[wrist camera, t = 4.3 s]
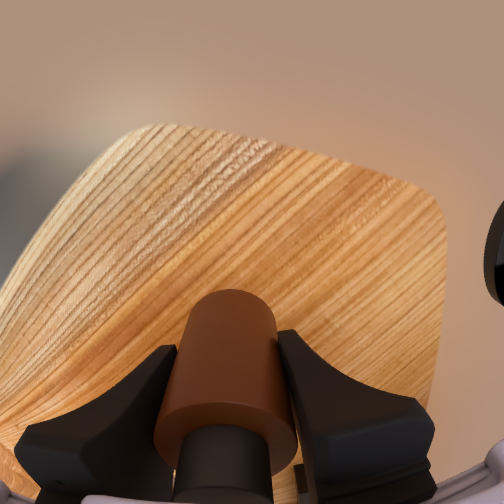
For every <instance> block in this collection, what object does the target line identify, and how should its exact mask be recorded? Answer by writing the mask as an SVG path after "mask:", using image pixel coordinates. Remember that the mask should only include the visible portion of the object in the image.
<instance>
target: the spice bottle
mask: <svg viewBox="0 0 504 504" xmlns="http://www.w3.org/2000/svg"><path fill="white" fill-rule="evenodd" d="M153 441H154V445H155V448H156V450H157V452H158V454H159V455H160V457H161V458H162V459H163V460H164V461H165V462H166V463H167V464H168V465H169V466H171V467H172V468H173V469H175V470H176V475H175V481H174V487H173V493H172V498H171V502H172V503H194V504H274V500H273V489H272V477H271V476H274V475H275V474H277V473H279V472H280V471H282V470H283V469H284V468H286V467H287V466H288V465H289V464H290V463H291V461H292V460H293V458H294V456H295V454H296V452H297V448H298V438H297V433H296V428H295V422H294V417H293V411H292V406H291V401H290V395H289V390H288V385H287V379H286V374H285V370H284V366H283V362H282V359H281V354H280V348H279V343H278V336H277V327H276V322H275V318H274V315H273V313H272V311H271V309H270V308H269V307H268V305H267V304H266V303H265V302H264V301H262V300H261V299H260V298H258V297H257V296H255V295H253V294H251V293H249V292H245V291H242V290H235V289H227V290H220V291H216V292H213V293H211V294H209V295H207V296H205V297H203V298H202V299H201V300H200V301H199V302H197V304H196V305H195V306H194V307H193V309H192V311H191V313H190V315H189V318H188V321H187V324H186V327H185V330H184V333H183V336H182V340H181V343H180V346H179V349H178V352H177V355H176V358H175V362H174V365H173V368H172V371H171V374H170V378H169V381H168V384H167V388H166V391H165V394H164V397H163V401H162V404H161V407H160V411H159V414H158V418H157V421H156V425H155V428H154V432H153Z"/></svg>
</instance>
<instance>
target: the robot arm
mask: <svg viewBox="0 0 504 504" xmlns="http://www.w3.org/2000/svg"><path fill="white" fill-rule="evenodd" d="M277 336H278V343H279V348H280V354H281V359H282V362H283V366H284V370H285V374H286V379H287V385H288V390H289V395H290V401H291V406H292V411H293V417H294V422H295V427H296V430H297V434H298V437H299V441H300V445H301V451H302V456H303V462H304V468H305V474H306V480H307V486H308V492H309V499H310V504H504V439H502V440H501V441H499V442H498V443H496V444H495V445H494V446H493V447H492V448H491V449H490V451H489V452H488V454H487V455H486V458H485V460H484V461H483V462H481V463H480V464H478V465H476V466H474V467H472V468H470V469H468V470H466V471H464V472H462V473H460V474H458V475H456V476H453V477H451V478H449V479H447V480H445V481H442V482H440V483H438V484H435V481H434V480H433V478H432V476H431V474H430V472H429V469H430V467H431V464H430V462H429V460H428V458H427V453H428V450H429V448H430V445H431V442H432V439H433V436H434V431H435V427H434V423H433V421H432V420H431V418H430V416H429V415H428V413H427V412H426V411H425V409H424V408H423V407H422V406H421V405H420V404H419V402H418V401H417V400H416V399H415V398H411V397H406V396H401V395H397V394H392V393H388V392H385V391H382V390H379V389H375V388H373V387H370V386H368V385H365V384H363V383H361V382H358V381H356V380H354V379H352V378H350V377H348V376H346V375H345V374H343V373H341V372H340V371H338V370H337V369H335V368H334V367H333V366H331V365H330V364H329V363H327V362H326V361H325V360H323V359H322V358H321V357H320V356H319V355H318V354H317V353H315V352H314V351H313V350H312V349H311V348H310V347H309V346H308V345H307V344H306V343H305V342H304V341H303V339H302V338H301V337H300V336H299V335H298V333H297V332H296V331H295V330H293V329H291V330H284V331H278V332H277ZM176 355H177V349H176V346H175V344H173V345H162V346H160V347H158V348H157V349H156V350H155V351H154V352H152V353H151V354H150V355H149V356H148V357H147V358H146V359H145V360H144V361H143V362H142V363H141V364H140V365H138V366H137V367H136V368H135V369H134V370H133V371H132V372H131V373H130V374H128V375H127V376H126V377H125V378H123V379H122V380H121V381H120V382H119V383H117V384H116V385H115V386H114V387H112V388H111V389H110V390H108V391H107V392H105V393H104V394H102V395H101V396H99V397H98V398H96V399H94V400H92V401H91V402H89V403H87V404H85V405H83V406H81V407H79V408H77V409H75V410H73V411H71V412H69V413H66V414H64V415H61V416H59V417H56V418H53V419H50V420H47V421H43V422H40V423H36V424H32V425H28V427H27V428H26V430H25V431H24V433H23V434H22V436H21V438H20V439H19V441H18V442H17V444H16V446H15V447H14V453H15V456H16V458H17V460H18V462H19V463H20V465H21V466H22V467H23V468H24V470H25V471H26V472H27V473H28V474H29V475H30V476H31V478H32V479H33V480H34V481H35V482H36V483H37V484H38V485H39V486H40V487H41V490H40V493H39V495H38V497H37V499H36V500H34V499H31V498H28V497H25V496H23V495H20V494H17V493H15V492H12V491H11V490H10V489H9V487H8V486H7V485H6V484H5V483H4V482H3V481H2V480H0V504H194V503H172V502H171V498H172V492H173V473H174V469H173V468H172V467H171V466H169V465H168V464H167V463H166V462H165V461H164V460H163V459H162V458H161V457H160V455H159V454H158V452H157V450H156V448H155V445H154V441H153V432H154V428H155V425H156V421H157V418H158V414H159V411H160V407H161V404H162V401H163V397H164V394H165V391H166V388H167V384H168V381H169V378H170V374H171V371H172V368H173V365H174V362H175V358H176Z"/></svg>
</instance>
